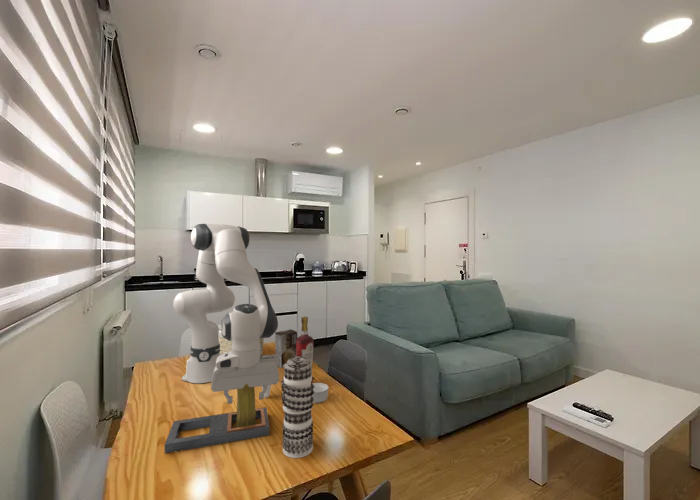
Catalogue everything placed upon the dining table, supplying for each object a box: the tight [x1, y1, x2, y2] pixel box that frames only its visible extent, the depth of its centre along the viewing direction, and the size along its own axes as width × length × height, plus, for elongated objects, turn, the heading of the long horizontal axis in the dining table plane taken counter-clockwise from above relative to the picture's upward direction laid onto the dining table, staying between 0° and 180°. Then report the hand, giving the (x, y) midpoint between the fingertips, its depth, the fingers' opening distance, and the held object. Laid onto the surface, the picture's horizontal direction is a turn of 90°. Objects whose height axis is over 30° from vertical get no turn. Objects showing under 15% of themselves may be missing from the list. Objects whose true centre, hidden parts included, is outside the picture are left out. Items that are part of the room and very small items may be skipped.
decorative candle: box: [280, 357, 315, 459], centre depth 91 cm, size 9×9×25 cm
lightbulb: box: [261, 385, 272, 399], centre depth 123 cm, size 6×6×11 cm
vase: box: [235, 384, 257, 428], centre depth 103 cm, size 6×6×14 cm
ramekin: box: [312, 382, 330, 404], centre depth 122 cm, size 9×9×4 cm
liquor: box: [296, 316, 314, 383], centre depth 135 cm, size 7×7×28 cm
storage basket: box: [218, 326, 265, 355], centre depth 172 cm, size 24×16×15 cm
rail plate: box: [164, 406, 270, 454], centre depth 100 cm, size 13×28×3 cm, turn 109°
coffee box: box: [274, 328, 298, 369], centre depth 159 cm, size 9×6×16 cm
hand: (245, 400), depth 102 cm, fingers open, 8 cm apart
